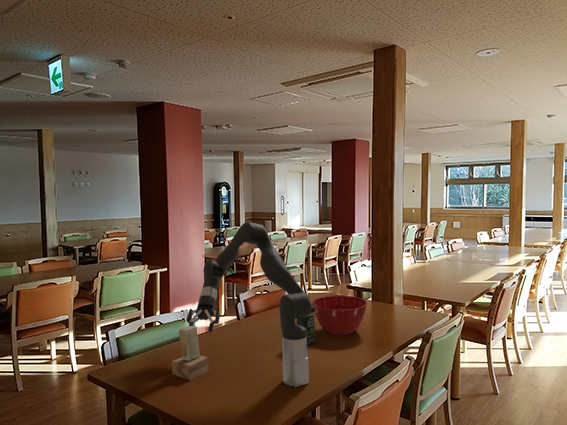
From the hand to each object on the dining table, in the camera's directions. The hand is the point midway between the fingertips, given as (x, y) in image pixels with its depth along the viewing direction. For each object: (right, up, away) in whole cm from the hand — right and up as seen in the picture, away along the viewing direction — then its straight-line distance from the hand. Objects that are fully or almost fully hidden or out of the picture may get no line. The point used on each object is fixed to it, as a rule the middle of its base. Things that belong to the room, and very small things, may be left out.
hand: (200, 331), depth 182 cm
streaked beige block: (-1, -14, -12) cm, 18 cm away
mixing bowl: (+65, -11, +37) cm, 76 cm away
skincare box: (-1, -8, -12) cm, 14 cm away
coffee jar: (+47, -11, +21) cm, 53 cm away
